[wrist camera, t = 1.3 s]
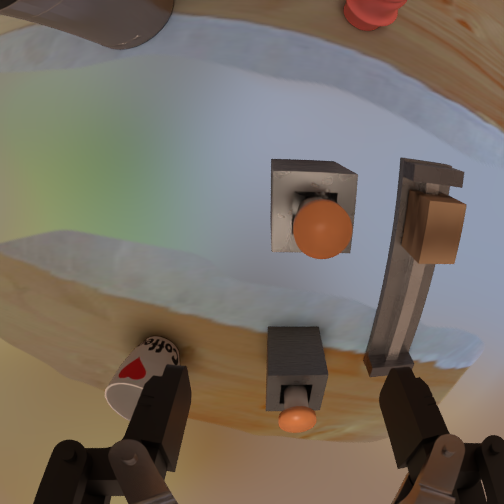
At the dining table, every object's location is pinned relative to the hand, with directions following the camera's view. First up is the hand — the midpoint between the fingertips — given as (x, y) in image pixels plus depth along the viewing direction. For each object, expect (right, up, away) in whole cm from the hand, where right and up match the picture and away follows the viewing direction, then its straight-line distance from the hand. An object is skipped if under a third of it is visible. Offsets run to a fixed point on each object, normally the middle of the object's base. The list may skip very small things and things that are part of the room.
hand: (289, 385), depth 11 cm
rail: (+16, +3, +21) cm, 27 cm away
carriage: (+16, +8, +17) cm, 25 cm away
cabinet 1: (+3, +11, +18) cm, 21 cm away
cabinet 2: (+3, -6, +25) cm, 26 cm away
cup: (-14, -8, +27) cm, 31 cm away
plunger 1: (+3, -9, +18) cm, 21 cm away
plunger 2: (+3, +8, +11) cm, 14 cm away
